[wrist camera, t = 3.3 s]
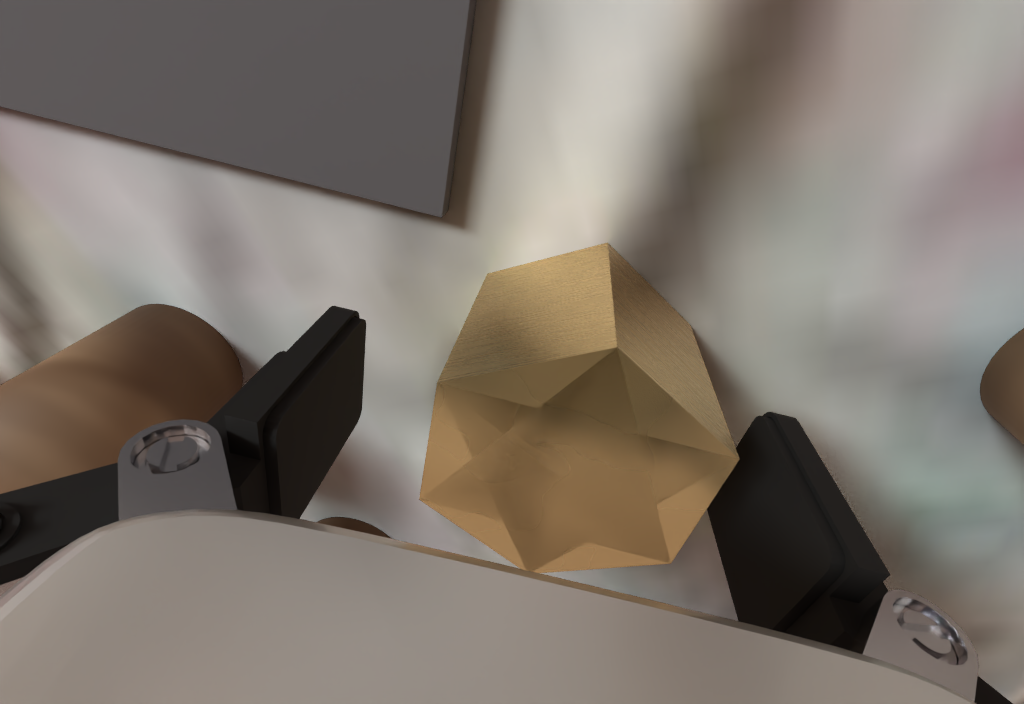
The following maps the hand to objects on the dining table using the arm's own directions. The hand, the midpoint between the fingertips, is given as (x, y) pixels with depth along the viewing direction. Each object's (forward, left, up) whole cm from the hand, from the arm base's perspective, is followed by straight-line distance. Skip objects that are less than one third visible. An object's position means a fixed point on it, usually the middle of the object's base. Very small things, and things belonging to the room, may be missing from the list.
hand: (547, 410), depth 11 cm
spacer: (+12, +4, -3) cm, 12 cm away
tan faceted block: (0, 0, -3) cm, 3 cm away
